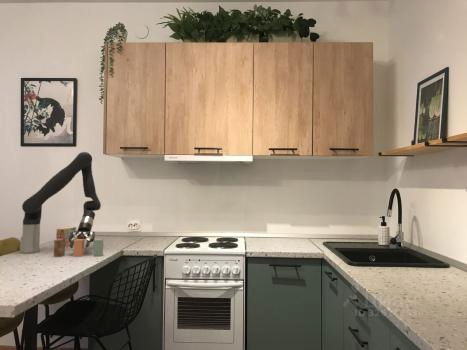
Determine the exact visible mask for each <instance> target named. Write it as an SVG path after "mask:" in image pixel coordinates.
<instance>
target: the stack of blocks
mask: <svg viewBox="0 0 467 350" xmlns="http://www.w3.org/2000/svg"><path fill="white" fill-rule="evenodd" d="M77 230H78V228H77V226H66V227H60V228H56V236H55V237H56V238H55V240H57V239H65V248H66V247H70V243H71V242H69V240H68V238H69V236H70V234H71V232H73V233H76V232H77ZM75 236H76V235H75ZM73 238H74V236H73Z"/></svg>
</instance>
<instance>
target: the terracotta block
mask: <svg viewBox="0 0 467 350" xmlns="http://www.w3.org/2000/svg"><path fill="white" fill-rule="evenodd" d="M84 255H85V239H76V240H74V245H73V258H76V257H78V258H79V257H83V256H84Z"/></svg>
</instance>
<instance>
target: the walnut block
mask: <svg viewBox="0 0 467 350" xmlns="http://www.w3.org/2000/svg"><path fill="white" fill-rule="evenodd" d="M65 253H66V247H65V239H57V240H56V239H55V240H54V243H53V258H57V257H58V258H62V257H64V256H65V255H66V254H65Z"/></svg>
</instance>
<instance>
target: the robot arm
mask: <svg viewBox="0 0 467 350" xmlns="http://www.w3.org/2000/svg"><path fill="white" fill-rule="evenodd" d="M92 163H93V157H92V155H91V154H90V153H89V152H87V151H82V152H79V153H78V154H77V155H76V157H75V158H74V159H73V160H72V161H71V162H70V163H69V164H68V165H66V166H65V167H63V168H62V169H61V170H60V171H58V172H57V173H56V174H55V175H53V176H52V177H51V178H50V179H49V180H48V181H47V182H46V183H45V184H44V185H43V186H42V187H41V188H40V189H39V190H38V191H36V193H34V194H32V195H31V196H30V197H28V198H27V199H26V200H25V201H23V203H22V206H21V207H22V208H21V209H22V211H23V212H24V217H23V220H22V235H21V237H20V245H19V247H20V249H19V250H20V251H19V253H20V254H21V253H22V254H32V253H33V254H34V253H37V252H39V251H40V238H41V237H40V236H41V220H42V211H43V210H42V209H43V207H42V206H43V204H44V203H45V202H46V201H47V200H49V199H50V198H52V197H54V196H55V195H57V194H58V193H59V192H60V191H62V190H63V189H64V188H65V187H66V186H68V184H69V183H70V182H71V181H72V180H73V179H74V178H75V176H76V175H77V174H78V173H80V171H81V176H82V187H83V194H84V197H85V198H89V199H91V200H87V201H84V203H83V206H82V207H83V213H82V216H81V220H80V221H79V225H78V227H77V229H78V230H77V232H76V233H73V232H71V234H70V236H69V238H68V240H69V242H71V243H70V246H69V247H70V249H74V240H76V239H84V240H86V243H85V249H86V248H89V247H90V244H91V243H94V240H95V239H96V238H95V237H96V233H95V231H92V227H93V225H94V221H95V217H96V213H95V211H99V210H101V207H102V204H101V201H100V198H99V197H98V195H97V191H96V186H95V180H94V176H93V168H92V167H93V166H92V165H93V164H92ZM91 231H92V232H91ZM75 235H76V236H75ZM73 236H74V238H73ZM90 236H91V237H90Z"/></svg>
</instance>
